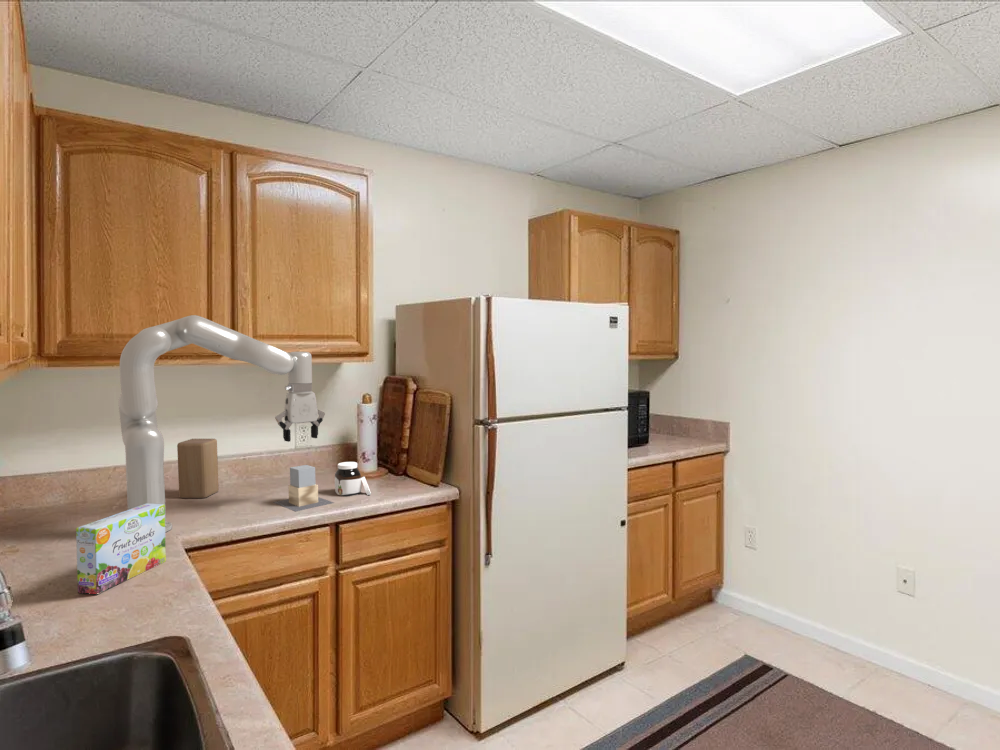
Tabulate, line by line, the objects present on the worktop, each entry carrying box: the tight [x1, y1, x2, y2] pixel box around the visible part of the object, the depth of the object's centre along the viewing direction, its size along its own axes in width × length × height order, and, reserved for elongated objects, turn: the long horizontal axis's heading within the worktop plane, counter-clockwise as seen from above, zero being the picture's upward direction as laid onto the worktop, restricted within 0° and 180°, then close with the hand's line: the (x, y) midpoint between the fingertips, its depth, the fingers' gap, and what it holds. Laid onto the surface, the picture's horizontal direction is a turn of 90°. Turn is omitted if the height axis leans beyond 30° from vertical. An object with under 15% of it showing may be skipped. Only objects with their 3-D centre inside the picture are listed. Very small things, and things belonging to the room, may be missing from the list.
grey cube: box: [289, 464, 316, 488], centre depth 203 cm, size 6×6×6 cm
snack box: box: [75, 503, 167, 595], centre depth 143 cm, size 21×6×15 cm, turn 170°
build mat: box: [272, 496, 335, 512], centre depth 204 cm, size 14×16×1 cm
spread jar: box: [334, 461, 372, 497], centre depth 216 cm, size 12×11×12 cm
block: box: [176, 438, 220, 499], centre depth 218 cm, size 10×10×20 cm
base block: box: [287, 484, 319, 506], centre depth 204 cm, size 7×7×6 cm
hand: (301, 439), depth 202 cm, fingers open, 9 cm apart
